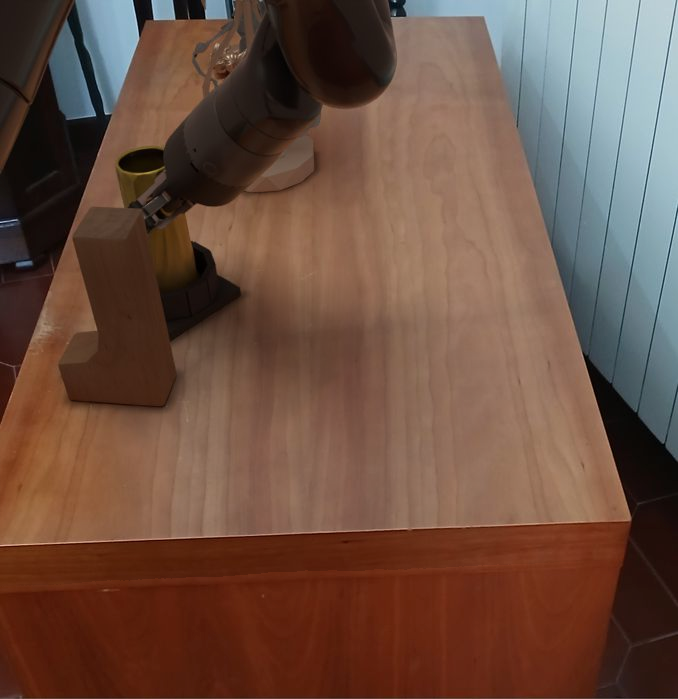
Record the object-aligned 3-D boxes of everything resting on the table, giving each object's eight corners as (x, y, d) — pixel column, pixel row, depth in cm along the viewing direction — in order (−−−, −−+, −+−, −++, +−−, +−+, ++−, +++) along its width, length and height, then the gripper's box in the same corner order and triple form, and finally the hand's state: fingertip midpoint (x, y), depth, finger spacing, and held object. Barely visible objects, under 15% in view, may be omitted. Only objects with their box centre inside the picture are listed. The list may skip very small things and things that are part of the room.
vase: (131, 280, 93) (101, 154, 84) (188, 261, 95) (164, 136, 86) (151, 312, 89) (122, 183, 80) (210, 292, 91) (188, 164, 82)
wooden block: (67, 401, 82) (13, 233, 71) (84, 367, 86) (35, 202, 74) (164, 408, 81) (126, 238, 70) (178, 374, 85) (143, 206, 73)
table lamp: (354, 121, 120) (343, -237, 94) (350, 212, 104) (336, -191, 78) (189, 124, 121) (133, -229, 95) (160, 215, 105) (83, -182, 79)
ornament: (197, 73, 133) (193, 49, 131) (228, 56, 137) (225, 32, 135) (238, 86, 130) (235, 61, 127) (269, 68, 134) (267, 44, 131)
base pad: (164, 344, 88) (157, 312, 85) (101, 303, 93) (93, 271, 91) (241, 295, 93) (237, 262, 91) (178, 258, 99) (172, 227, 96)
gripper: (250, 72, 79) (167, 162, 92) (138, 144, 71) (64, 233, 84) (305, 141, 81) (216, 221, 94) (201, 221, 72) (119, 296, 85)
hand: (144, 226), depth 89 cm, fingers closed on vase, 5 cm apart
